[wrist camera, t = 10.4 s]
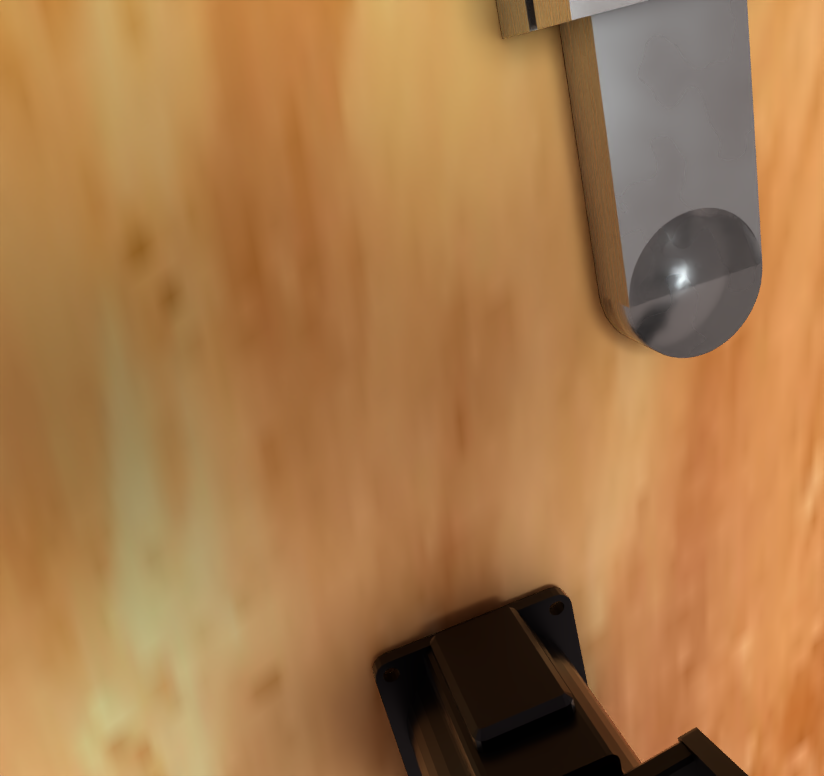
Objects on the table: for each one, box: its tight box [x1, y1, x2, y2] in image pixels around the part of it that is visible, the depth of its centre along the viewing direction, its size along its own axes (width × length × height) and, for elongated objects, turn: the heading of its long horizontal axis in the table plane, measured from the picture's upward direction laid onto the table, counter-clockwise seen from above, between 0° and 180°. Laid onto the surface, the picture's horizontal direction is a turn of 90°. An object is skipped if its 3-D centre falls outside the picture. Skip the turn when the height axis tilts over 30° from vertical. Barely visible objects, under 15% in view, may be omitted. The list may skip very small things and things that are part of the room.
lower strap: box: [496, 0, 762, 358], centre depth 18 cm, size 16×7×2 cm, turn 14°
